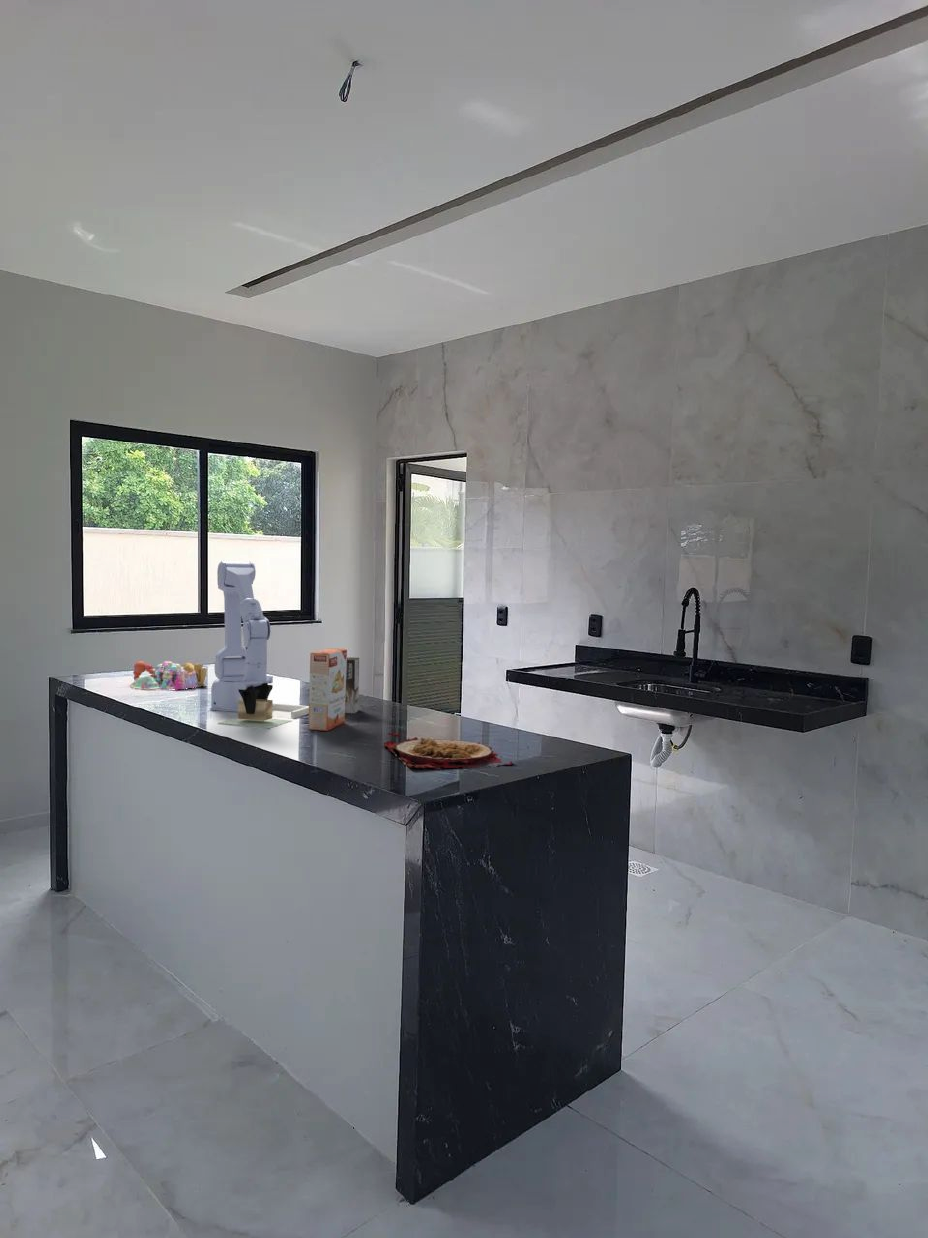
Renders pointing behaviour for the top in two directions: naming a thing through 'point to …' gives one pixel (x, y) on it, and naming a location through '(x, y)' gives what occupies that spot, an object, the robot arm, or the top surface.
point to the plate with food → (442, 753)
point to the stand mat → (255, 723)
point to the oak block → (256, 710)
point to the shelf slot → (289, 710)
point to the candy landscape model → (168, 676)
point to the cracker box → (327, 689)
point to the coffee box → (352, 685)
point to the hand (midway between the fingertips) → (255, 712)
